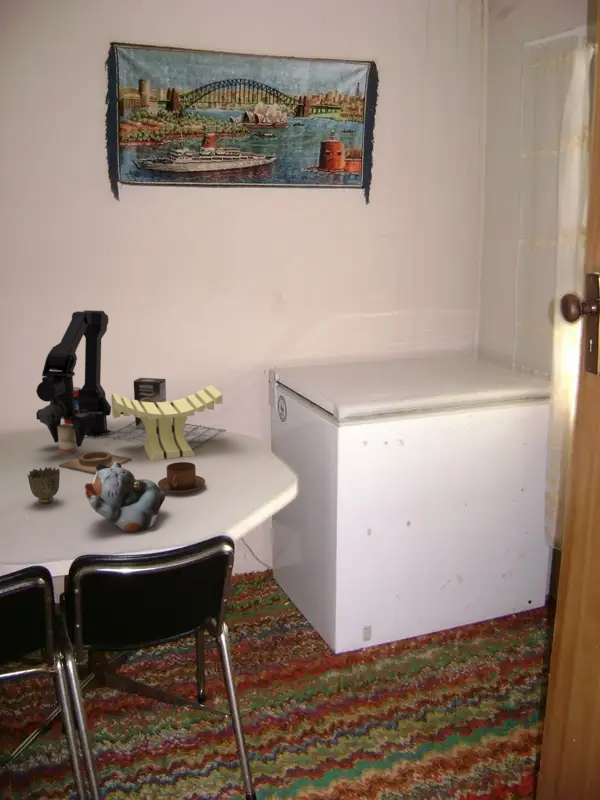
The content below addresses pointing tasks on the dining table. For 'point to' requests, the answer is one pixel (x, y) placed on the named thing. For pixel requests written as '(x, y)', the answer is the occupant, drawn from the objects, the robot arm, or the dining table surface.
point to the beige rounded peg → (66, 439)
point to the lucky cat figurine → (124, 498)
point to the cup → (44, 484)
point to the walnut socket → (93, 461)
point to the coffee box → (149, 394)
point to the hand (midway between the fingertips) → (67, 444)
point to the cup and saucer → (181, 479)
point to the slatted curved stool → (166, 420)
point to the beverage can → (75, 403)
